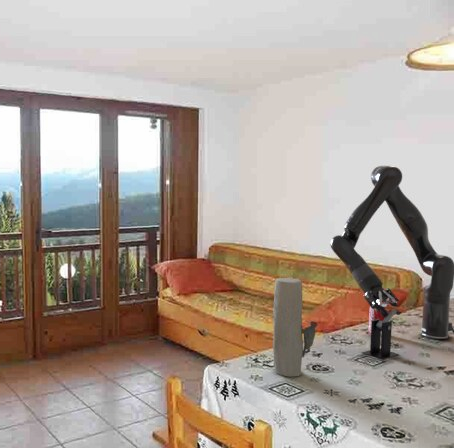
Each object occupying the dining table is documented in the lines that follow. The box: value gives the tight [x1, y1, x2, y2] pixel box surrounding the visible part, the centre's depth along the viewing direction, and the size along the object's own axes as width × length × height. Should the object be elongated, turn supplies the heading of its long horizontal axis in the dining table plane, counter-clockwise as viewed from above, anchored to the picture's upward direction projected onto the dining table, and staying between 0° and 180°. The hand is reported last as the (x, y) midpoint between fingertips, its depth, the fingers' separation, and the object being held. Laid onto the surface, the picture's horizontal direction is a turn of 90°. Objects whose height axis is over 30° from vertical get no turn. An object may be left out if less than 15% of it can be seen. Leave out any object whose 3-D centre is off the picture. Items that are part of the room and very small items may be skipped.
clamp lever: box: [376, 304, 407, 331], centre depth 177 cm, size 12×7×2 cm
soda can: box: [367, 302, 390, 335], centre depth 200 cm, size 7×7×13 cm
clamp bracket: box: [361, 319, 400, 361], centre depth 175 cm, size 10×8×13 cm
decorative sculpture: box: [272, 277, 318, 378], centre depth 158 cm, size 14×10×30 cm
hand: (393, 315), depth 181 cm, fingers open, 8 cm apart
